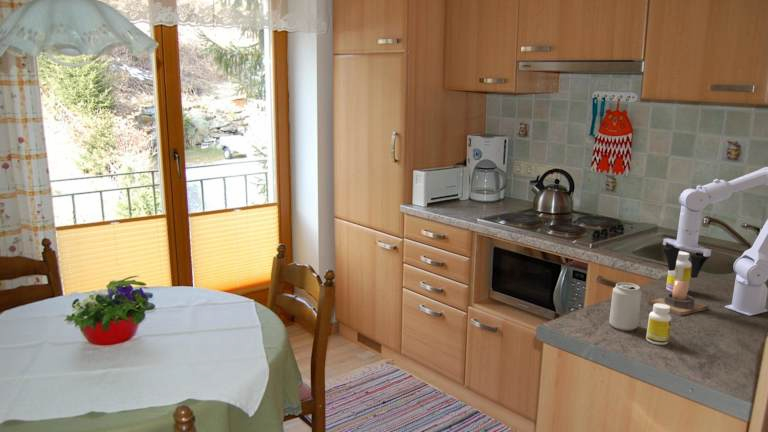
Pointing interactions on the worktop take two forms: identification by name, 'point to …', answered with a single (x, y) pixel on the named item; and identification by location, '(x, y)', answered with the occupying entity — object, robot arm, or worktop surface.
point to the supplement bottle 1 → (659, 324)
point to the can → (625, 306)
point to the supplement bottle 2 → (679, 270)
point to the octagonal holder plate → (680, 304)
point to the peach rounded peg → (680, 289)
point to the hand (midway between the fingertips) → (682, 273)
